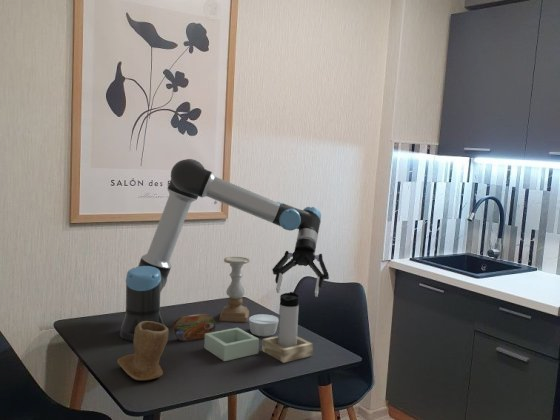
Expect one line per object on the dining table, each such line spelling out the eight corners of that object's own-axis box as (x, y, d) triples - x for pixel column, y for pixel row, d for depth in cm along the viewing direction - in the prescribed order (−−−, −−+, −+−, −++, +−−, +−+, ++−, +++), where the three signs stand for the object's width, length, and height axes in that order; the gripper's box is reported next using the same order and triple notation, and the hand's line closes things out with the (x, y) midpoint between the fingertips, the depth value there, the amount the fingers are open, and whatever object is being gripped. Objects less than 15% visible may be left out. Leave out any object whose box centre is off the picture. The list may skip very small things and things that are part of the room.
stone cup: (173, 378, 149) (175, 327, 147) (133, 386, 142) (134, 333, 140) (154, 360, 161) (155, 313, 160) (116, 367, 154) (117, 318, 153)
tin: (174, 342, 177) (174, 318, 176) (171, 339, 180) (172, 315, 179) (215, 337, 184) (216, 314, 183) (212, 334, 187) (213, 311, 186)
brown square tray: (283, 362, 163) (284, 350, 163) (261, 350, 173) (262, 339, 173) (312, 355, 171) (313, 343, 170) (290, 344, 180) (290, 333, 180)
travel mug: (298, 351, 174) (301, 293, 172) (293, 358, 168) (295, 297, 166) (281, 348, 176) (284, 290, 174) (274, 354, 170) (277, 295, 168)
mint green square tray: (224, 361, 162) (224, 345, 162) (204, 348, 173) (204, 333, 172) (258, 353, 170) (258, 338, 170) (237, 341, 181) (237, 327, 180)
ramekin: (254, 339, 184) (255, 324, 184) (243, 329, 194) (244, 315, 194) (283, 335, 189) (283, 321, 188) (271, 326, 199) (271, 313, 198)
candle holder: (222, 313, 213) (224, 255, 211) (249, 314, 213) (251, 257, 210) (218, 321, 202) (221, 261, 200) (246, 322, 202) (249, 262, 199)
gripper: (340, 252, 192) (333, 301, 179) (275, 246, 198) (263, 294, 185) (339, 240, 186) (331, 290, 173) (272, 234, 192) (260, 283, 179)
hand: (296, 292), depth 179 cm, fingers open, 13 cm apart
